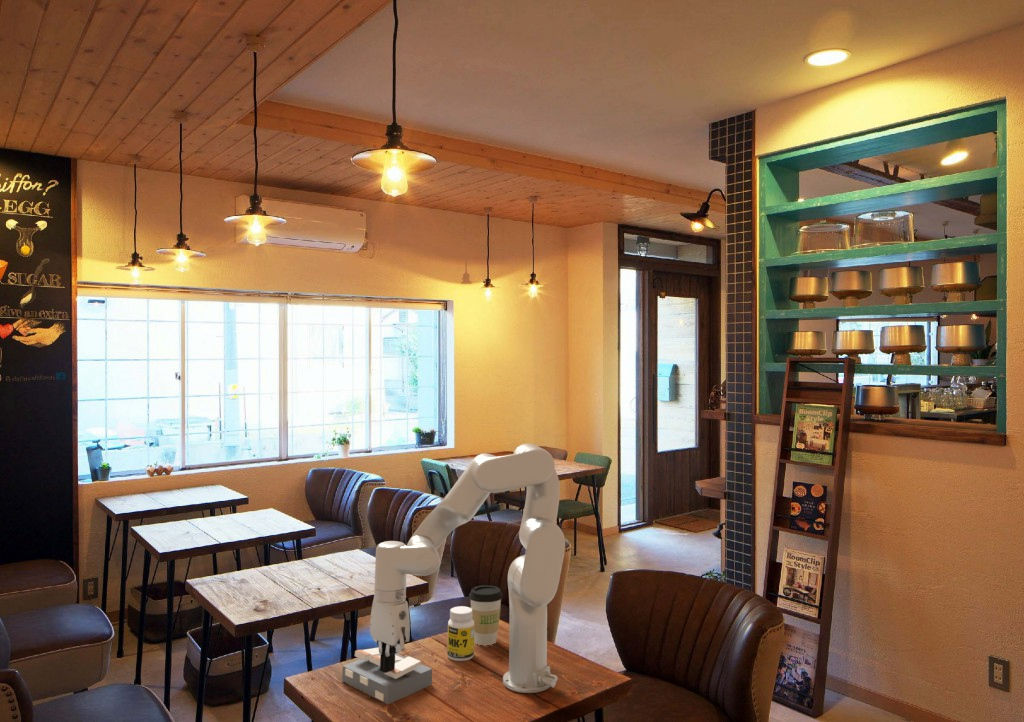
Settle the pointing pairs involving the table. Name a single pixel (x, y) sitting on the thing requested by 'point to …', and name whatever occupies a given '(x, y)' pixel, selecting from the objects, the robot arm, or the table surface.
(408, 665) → the block
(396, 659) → the rocker
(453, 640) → the supplement bottle
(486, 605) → the coffee cup
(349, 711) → the table surface
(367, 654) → the block
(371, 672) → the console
